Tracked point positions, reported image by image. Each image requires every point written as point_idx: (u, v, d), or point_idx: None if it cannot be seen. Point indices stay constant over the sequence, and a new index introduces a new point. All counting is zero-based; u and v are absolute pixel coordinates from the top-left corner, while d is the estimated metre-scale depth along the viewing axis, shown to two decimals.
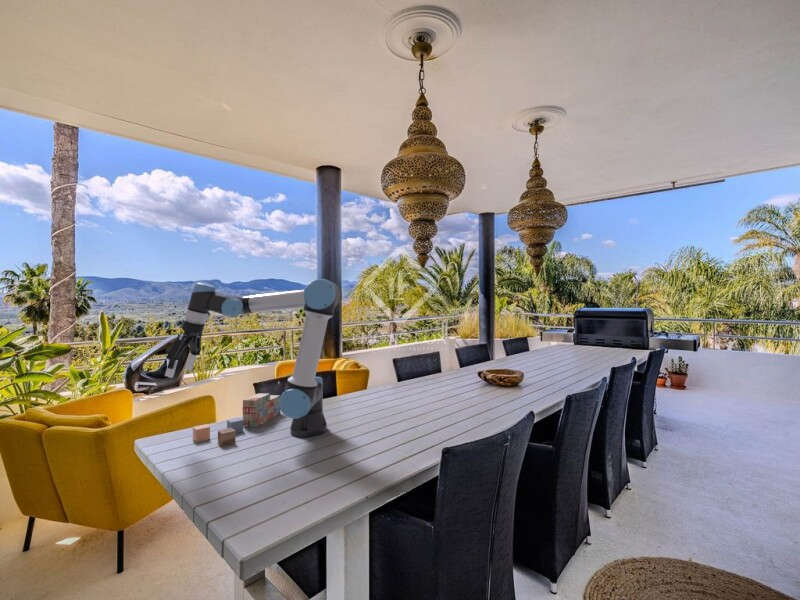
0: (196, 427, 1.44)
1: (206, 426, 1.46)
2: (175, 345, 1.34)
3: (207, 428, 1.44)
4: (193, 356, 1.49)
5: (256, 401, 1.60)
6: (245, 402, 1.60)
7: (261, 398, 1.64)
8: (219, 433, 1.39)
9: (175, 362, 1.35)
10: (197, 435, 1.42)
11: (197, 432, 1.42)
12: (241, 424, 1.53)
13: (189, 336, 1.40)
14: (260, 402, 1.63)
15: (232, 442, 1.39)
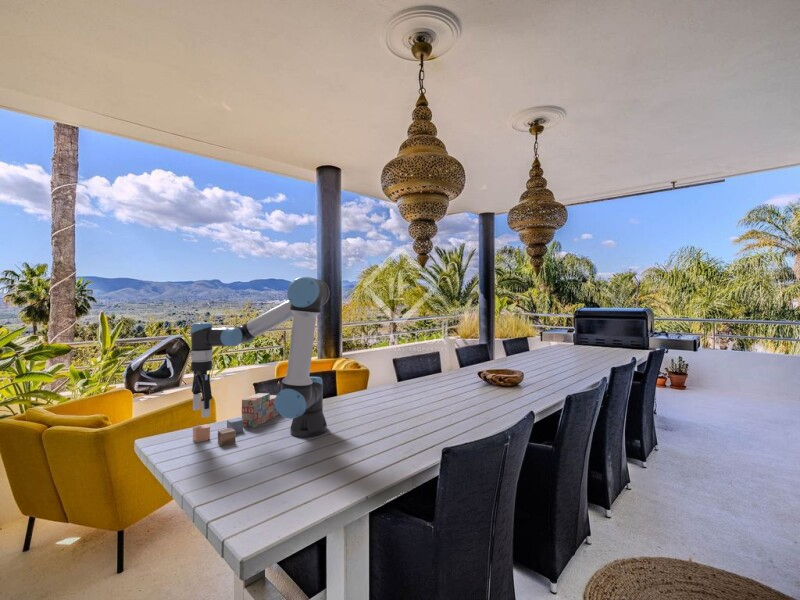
0: (196, 427, 1.44)
1: (206, 426, 1.46)
2: (205, 386, 1.39)
3: (207, 428, 1.44)
4: (198, 395, 1.51)
5: (255, 401, 1.60)
6: (244, 402, 1.61)
7: (260, 398, 1.64)
8: (219, 433, 1.39)
9: (209, 401, 1.41)
10: (197, 435, 1.42)
11: (197, 432, 1.42)
12: (241, 424, 1.53)
13: None
14: (259, 402, 1.63)
15: (232, 442, 1.39)
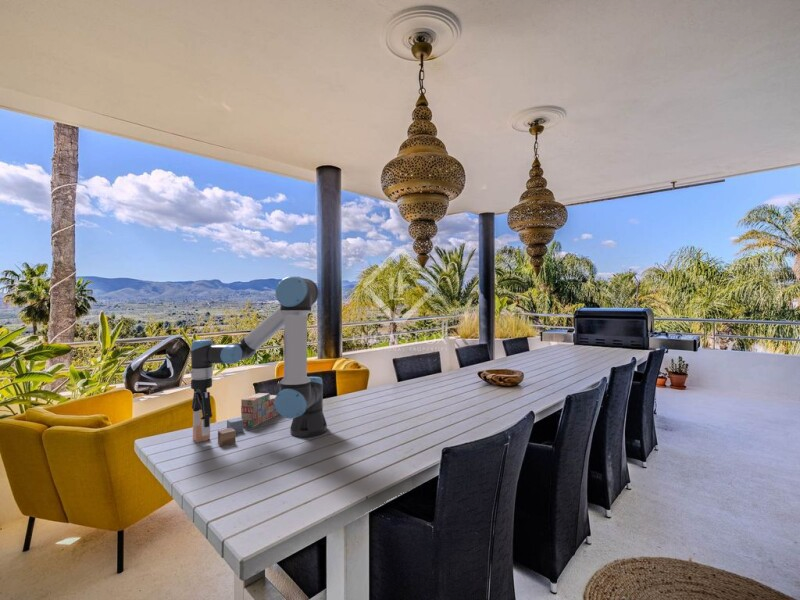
0: (196, 427, 1.44)
1: None
2: (205, 404, 1.39)
3: None
4: (199, 412, 1.50)
5: (254, 401, 1.61)
6: (243, 402, 1.61)
7: (260, 398, 1.64)
8: (219, 433, 1.39)
9: (209, 419, 1.41)
10: (197, 435, 1.42)
11: (197, 432, 1.42)
12: (241, 424, 1.53)
13: None
14: (259, 402, 1.63)
15: (232, 442, 1.39)
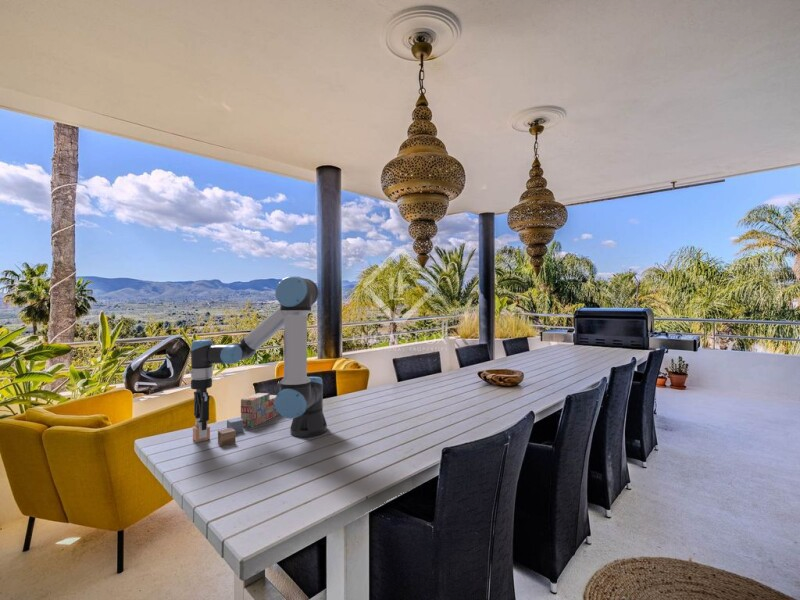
0: (196, 427, 1.44)
1: None
2: (204, 408, 1.41)
3: (207, 427, 1.44)
4: None
5: (253, 401, 1.61)
6: (243, 401, 1.61)
7: (259, 398, 1.65)
8: (219, 433, 1.39)
9: (206, 422, 1.43)
10: (197, 435, 1.42)
11: (197, 432, 1.42)
12: (241, 424, 1.53)
13: None
14: (258, 402, 1.64)
15: (232, 442, 1.39)
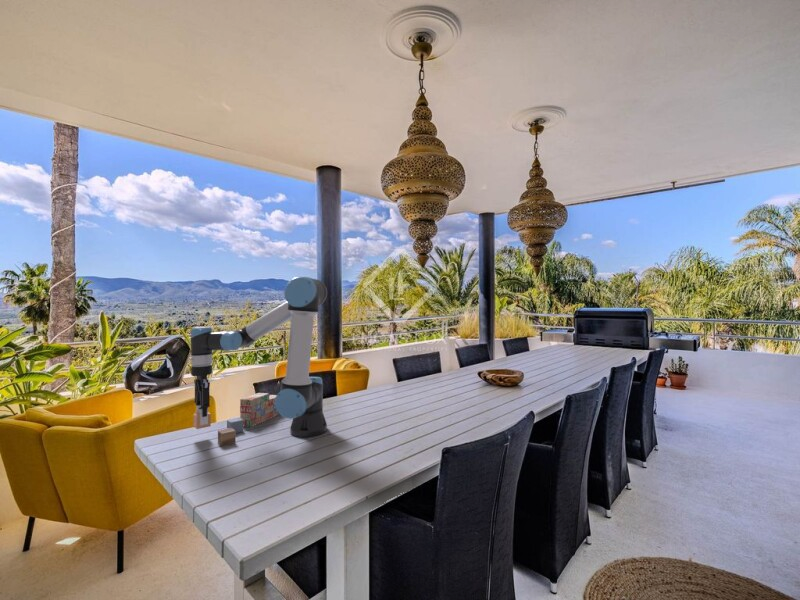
0: (197, 414, 1.45)
1: None
2: (205, 394, 1.41)
3: (208, 414, 1.44)
4: None
5: (253, 401, 1.61)
6: (242, 401, 1.61)
7: (259, 398, 1.65)
8: (219, 433, 1.39)
9: (207, 409, 1.44)
10: (198, 422, 1.42)
11: (198, 419, 1.42)
12: (241, 424, 1.53)
13: None
14: (257, 402, 1.64)
15: (232, 442, 1.39)
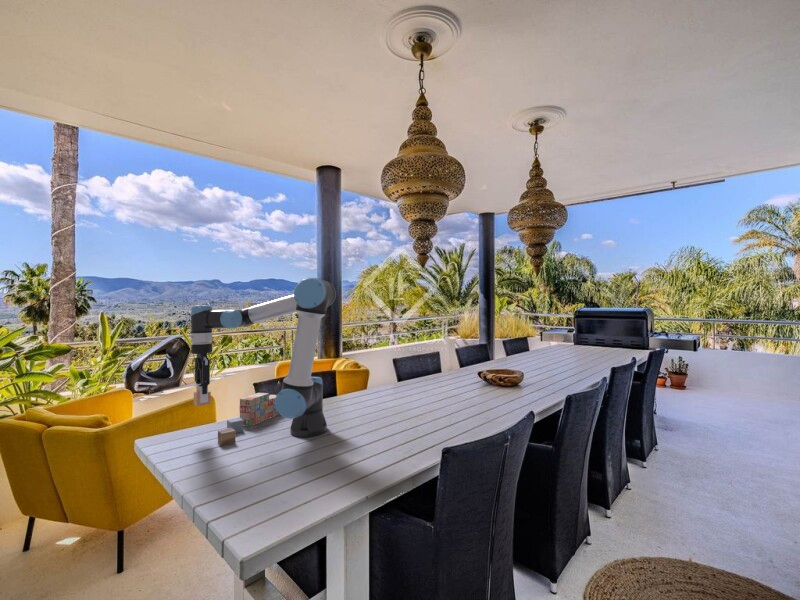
0: (197, 392, 1.45)
1: None
2: (205, 371, 1.41)
3: (208, 392, 1.45)
4: None
5: (252, 400, 1.61)
6: (242, 401, 1.62)
7: (258, 398, 1.65)
8: (219, 433, 1.39)
9: (207, 387, 1.44)
10: (198, 399, 1.42)
11: (198, 396, 1.42)
12: (241, 424, 1.53)
13: None
14: (257, 402, 1.64)
15: (232, 442, 1.39)
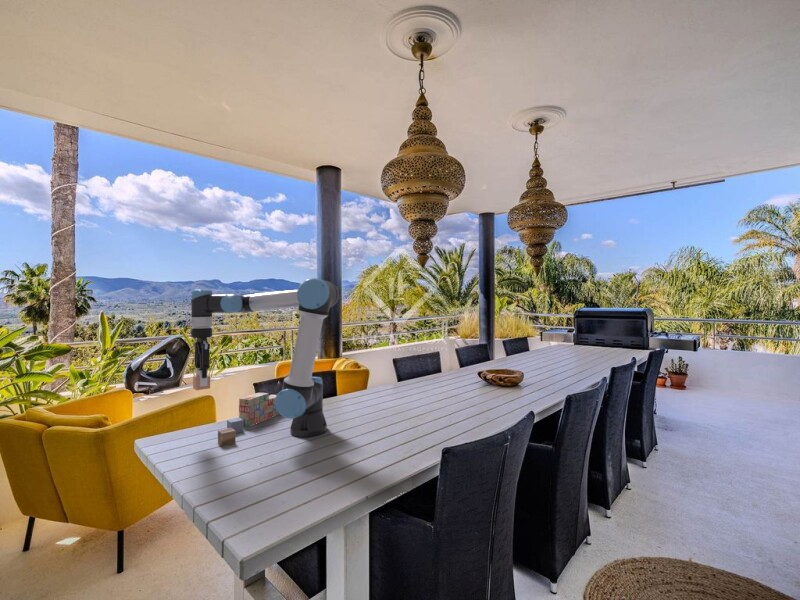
0: (196, 376, 1.45)
1: None
2: (204, 355, 1.41)
3: None
4: None
5: (251, 400, 1.61)
6: (241, 401, 1.62)
7: (257, 397, 1.65)
8: (219, 433, 1.39)
9: None
10: (197, 383, 1.42)
11: (197, 380, 1.42)
12: (241, 424, 1.53)
13: None
14: (256, 401, 1.64)
15: (232, 442, 1.39)
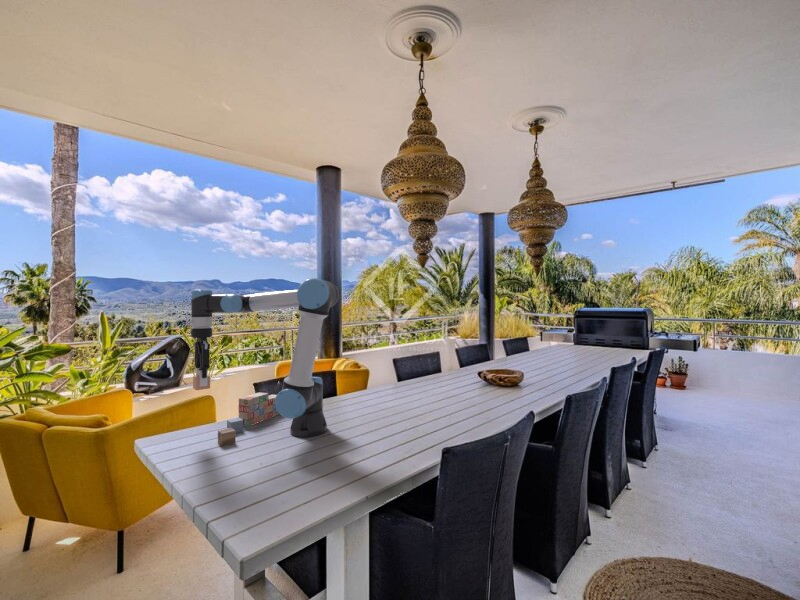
0: (196, 376, 1.45)
1: None
2: (204, 355, 1.41)
3: None
4: None
5: (250, 400, 1.62)
6: (240, 401, 1.63)
7: (257, 397, 1.65)
8: (219, 433, 1.39)
9: None
10: (197, 383, 1.42)
11: (197, 380, 1.42)
12: (241, 424, 1.53)
13: None
14: (255, 401, 1.64)
15: (232, 442, 1.39)
